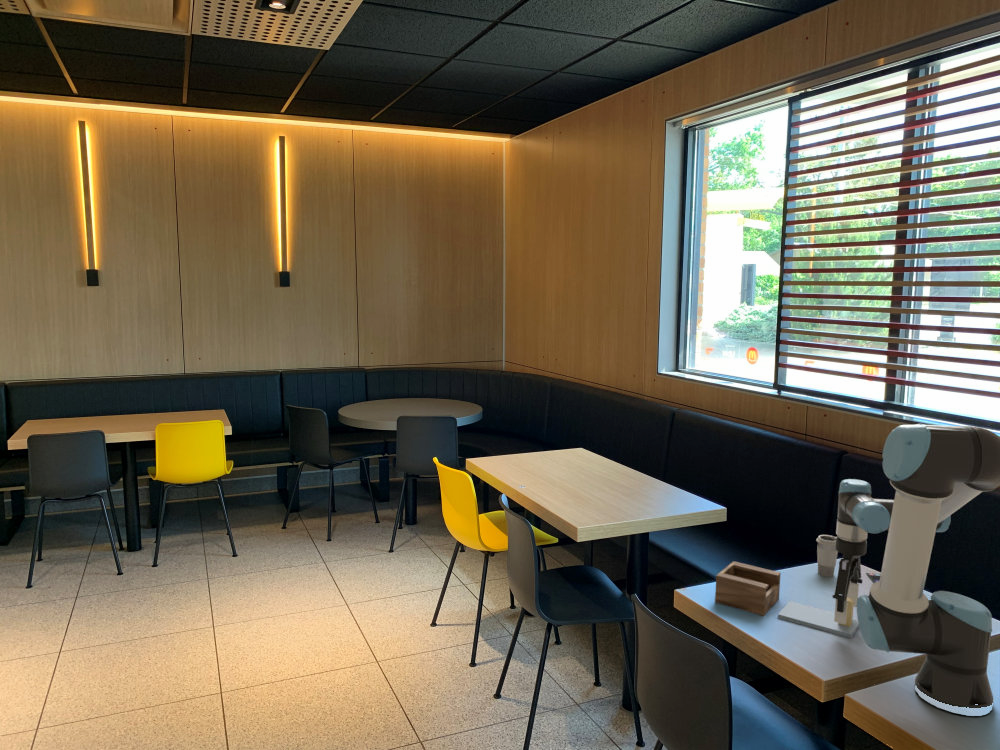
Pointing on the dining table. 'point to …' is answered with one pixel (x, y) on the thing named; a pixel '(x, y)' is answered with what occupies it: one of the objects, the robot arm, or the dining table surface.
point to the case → (747, 588)
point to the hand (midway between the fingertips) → (846, 614)
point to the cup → (826, 555)
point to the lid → (820, 618)
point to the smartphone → (874, 577)
